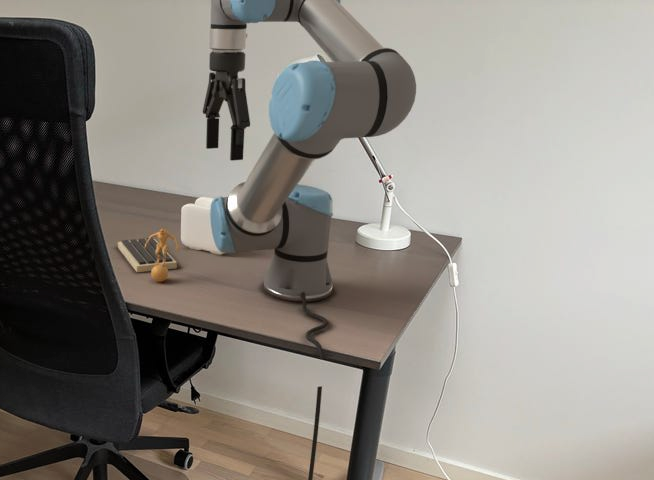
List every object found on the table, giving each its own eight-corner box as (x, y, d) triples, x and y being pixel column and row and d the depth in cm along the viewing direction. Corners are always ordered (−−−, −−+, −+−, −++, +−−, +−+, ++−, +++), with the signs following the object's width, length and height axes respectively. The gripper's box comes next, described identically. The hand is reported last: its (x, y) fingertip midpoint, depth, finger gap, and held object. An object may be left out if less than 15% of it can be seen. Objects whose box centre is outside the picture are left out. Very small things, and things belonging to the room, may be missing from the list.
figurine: (140, 282, 171) (139, 231, 166) (148, 273, 176) (147, 224, 171) (174, 286, 169) (174, 235, 164) (181, 277, 174) (182, 227, 169)
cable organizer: (177, 246, 194) (177, 203, 189) (198, 236, 202) (199, 194, 196) (227, 257, 187) (229, 212, 181) (247, 246, 195) (249, 202, 189)
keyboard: (176, 268, 179) (176, 259, 178) (136, 272, 177) (136, 263, 176) (154, 244, 195) (154, 236, 194) (117, 247, 193) (117, 239, 192)
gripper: (270, 55, 146) (263, 164, 156) (220, 46, 167) (217, 142, 176) (235, 56, 144) (231, 166, 153) (189, 46, 165) (188, 144, 174)
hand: (223, 154), depth 165 cm, fingers open, 13 cm apart
